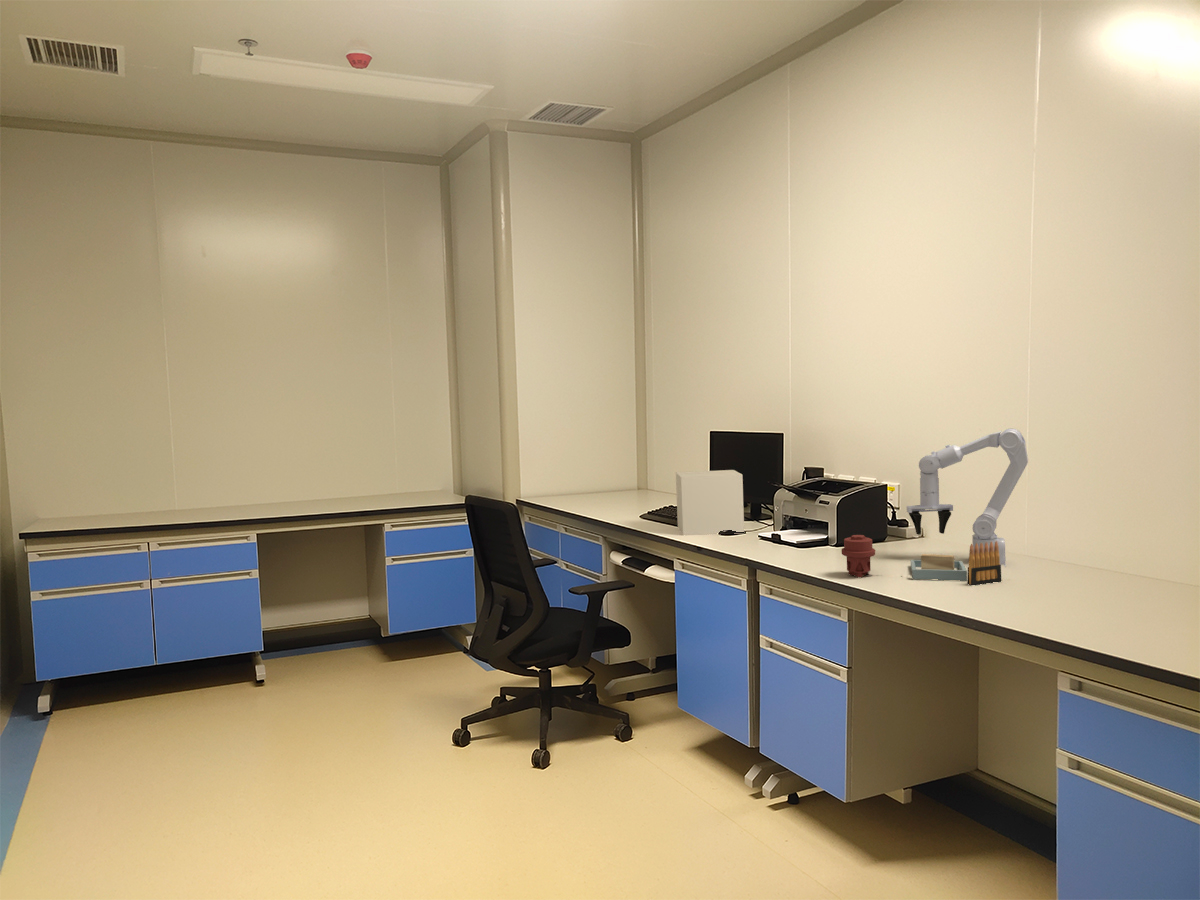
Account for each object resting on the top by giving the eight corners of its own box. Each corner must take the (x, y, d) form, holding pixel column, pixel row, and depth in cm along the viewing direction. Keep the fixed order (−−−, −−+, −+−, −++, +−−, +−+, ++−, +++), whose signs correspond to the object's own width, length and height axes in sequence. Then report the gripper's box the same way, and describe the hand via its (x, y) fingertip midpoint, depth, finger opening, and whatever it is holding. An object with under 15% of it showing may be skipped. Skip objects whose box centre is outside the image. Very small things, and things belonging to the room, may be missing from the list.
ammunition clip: (971, 585, 246) (971, 544, 245) (967, 584, 248) (966, 543, 247) (1001, 582, 249) (1001, 541, 249) (997, 580, 251) (996, 540, 250)
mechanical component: (873, 572, 269) (877, 579, 259) (840, 571, 271) (843, 578, 261) (873, 533, 268) (876, 538, 258) (840, 533, 270) (842, 538, 260)
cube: (735, 526, 372) (733, 469, 371) (744, 534, 351) (742, 474, 349) (677, 528, 372) (675, 472, 370) (683, 536, 351) (681, 477, 349)
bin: (962, 570, 266) (962, 560, 266) (967, 581, 252) (966, 571, 252) (910, 569, 271) (910, 559, 271) (912, 579, 257) (912, 569, 256)
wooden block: (923, 571, 265) (922, 553, 265) (954, 573, 260) (954, 555, 260) (921, 573, 262) (921, 555, 262) (952, 575, 258) (952, 557, 257)
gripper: (912, 494, 275) (912, 536, 275) (957, 492, 275) (957, 534, 276) (903, 492, 282) (904, 533, 282) (947, 490, 282) (948, 531, 283)
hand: (930, 533), depth 280 cm, fingers open, 7 cm apart
